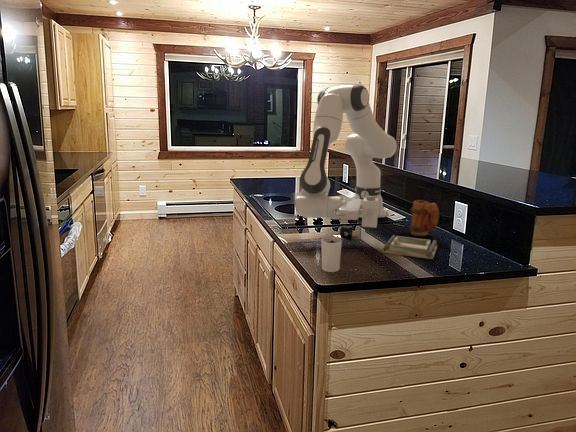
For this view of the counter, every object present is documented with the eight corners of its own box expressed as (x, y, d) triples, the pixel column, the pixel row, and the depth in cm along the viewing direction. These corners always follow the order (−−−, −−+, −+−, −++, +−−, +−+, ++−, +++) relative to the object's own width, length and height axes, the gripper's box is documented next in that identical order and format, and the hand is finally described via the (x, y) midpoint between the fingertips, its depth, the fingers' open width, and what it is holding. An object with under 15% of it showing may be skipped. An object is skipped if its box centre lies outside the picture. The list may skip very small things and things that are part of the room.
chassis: (390, 240, 185) (390, 233, 184) (437, 246, 178) (438, 239, 177) (381, 253, 170) (381, 245, 169) (432, 260, 163) (433, 252, 162)
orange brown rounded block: (404, 232, 196) (406, 198, 193) (419, 231, 199) (422, 196, 195) (426, 242, 183) (429, 205, 179) (442, 240, 186) (446, 204, 182)
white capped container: (362, 222, 182) (364, 194, 179) (377, 223, 181) (378, 195, 178) (361, 226, 177) (363, 197, 174) (376, 227, 175) (378, 198, 172)
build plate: (363, 238, 190) (364, 228, 189) (353, 242, 184) (354, 231, 183) (338, 232, 198) (339, 222, 197) (328, 236, 192) (328, 225, 191)
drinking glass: (318, 266, 157) (318, 237, 154) (336, 264, 158) (337, 236, 156) (324, 273, 151) (324, 243, 148) (343, 271, 152) (344, 242, 150)
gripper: (332, 206, 169) (371, 208, 166) (339, 194, 188) (374, 196, 185) (332, 222, 171) (370, 225, 168) (339, 209, 190) (373, 211, 187)
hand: (372, 209), depth 177 cm, fingers closed on white capped container, 5 cm apart
